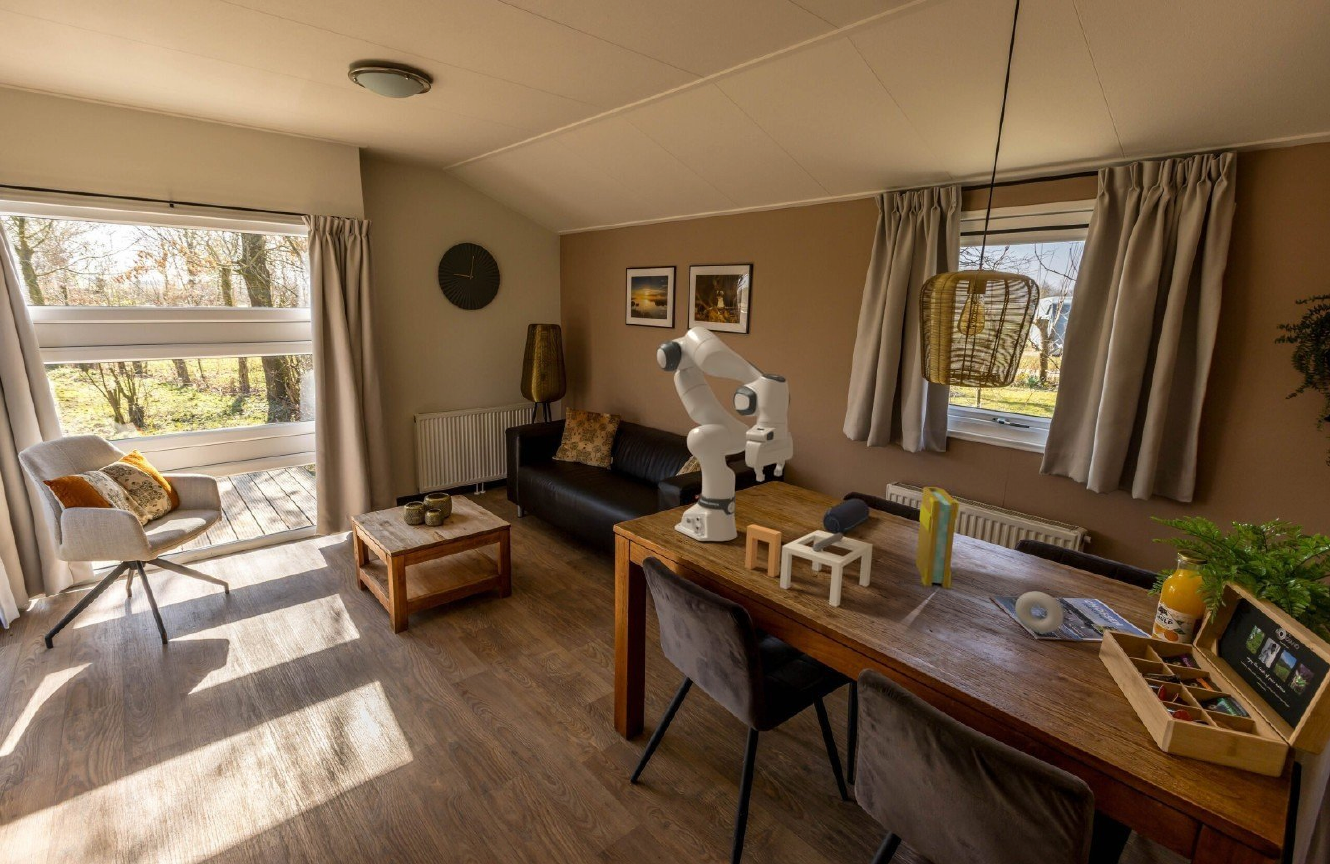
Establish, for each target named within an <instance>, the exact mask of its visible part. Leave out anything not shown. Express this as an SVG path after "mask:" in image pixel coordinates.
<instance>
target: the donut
mask: <svg viewBox="0 0 1330 864" xmlns="http://www.w3.org/2000/svg"><path fill="white" fill-rule="evenodd" d="M1036 606H1037V607H1040V608H1041V607H1042V609H1044V610H1045V611H1046V615H1045V617H1044V618H1039V617H1036V616H1035V615H1034V614H1033V612H1032V608H1033V607H1036ZM1014 608H1015V610H1014V611H1015V614H1016V616H1017V619H1018V620H1019V622H1020V623H1021V625H1023V626H1024V627H1025V628H1027V629H1028V630H1030V631H1033V632H1036V633H1041V634H1046V633H1047V634H1048V633H1052V632H1055V631H1057V630H1058V629H1059V628H1060V627H1061V626H1062V625H1063V622H1064V621H1063V620H1064V611H1063V608H1062V606H1061V604H1060V603H1059V602H1058V601H1057V600H1056V598H1054V597H1053V596H1051V595H1049V594H1047V593H1045V592H1043V591H1042V592H1041V591H1038V590H1037V591H1036V590H1035V591H1034V590H1033V591H1028V592H1025V593H1023V594H1022V595H1020V596H1019V598H1018V599H1016V603H1015V606H1014Z"/></svg>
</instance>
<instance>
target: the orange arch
mask: <svg viewBox="0 0 1330 864" xmlns="http://www.w3.org/2000/svg"><path fill="white" fill-rule="evenodd" d="M745 540H746V543H745V562H744V564H745V565H744V568H745V569H748V570H753V569H755V568H757V561H758V540H759V541H762V542H766V543H769V544H768V561H767V564H768V565H767V576H768V577H771V578H775V577H777V576H779V575H780V567H781V564H780V563H781V561H780V560H781V550H782V531H778V530H775V529H771V528H768V527H765V526H761V525H758V524H750V525H747V526H746V539H745Z"/></svg>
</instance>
